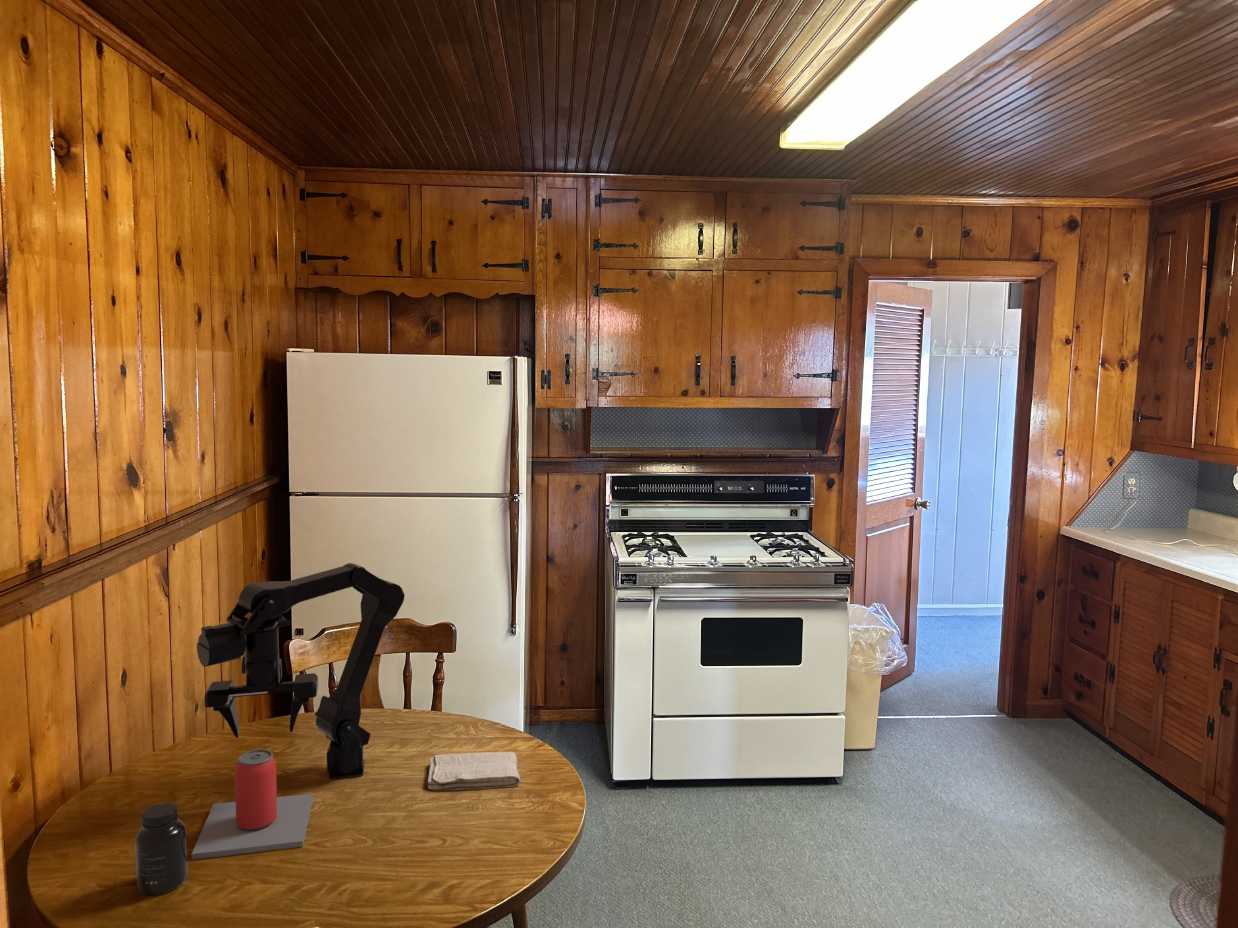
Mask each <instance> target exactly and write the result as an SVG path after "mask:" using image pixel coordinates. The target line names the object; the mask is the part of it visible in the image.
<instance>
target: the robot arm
mask: <svg viewBox="0 0 1238 928" xmlns="http://www.w3.org/2000/svg"><path fill="white" fill-rule="evenodd" d="M349 588H352V589H354V590H355V591H357V592H358V593H360V594H361V595H362V596H361V601H360V614H361V615H360V617H361V620H360V622H359V623H360V624H359V626H358V629H357V631H356V635H355V637H354V640H353V643H352V645H351V648H350V651H349V653H348V656H347V659H346V661H345V665H344V667H343V669H342V672H341V675H340V678H339V681H338V684H337V687H336V688H335V690H334V691H333V692H332V693H331V694H330V695H329V696H326V695H322V696H321V699H320V703H319V706H318V708H317V710H316V712H315V714H314V716H315V717H316V718H315V719H316V720H315V725H316V727H317V730H318V731H320V732H321V733H323V734H324V735H325V738H326V739H329V740H330V741H329V742H330V743H329V746H328V747H327V750H326V772H327V773H328V779H330V780H333V779H343V778H354V777H361V776H364V771H365V759H364V746H367V745H368V744H369V741H370V738H371V733H370V732H368V731H367V730H365V729H364V728H363V727H362V726H360V722H361V717H362V705H361V695H362V692H363V690H364V686H365V684H366V682H367V678H368V676H369V673H370V670H371V667H372V664H373V662H374V658H375V656H376V653H377V651H378V648H379V645H380V642H381V639H382V636H383V634H384V630H385V629H386V627H387V626H388V625H389V624H390V623H391V621H393V620H394V619H395V618H396V617H397V615H398V613H399V611H400V609H401V607H402V606H403V603H404V601H405V592H404V590H403V588H402V587H401V586H400V585H398V584H396V583H394V582H391V581H388V580H385V579H383V578H379V577H378V576H377V575H375V574H373V573H371V572H370V571H368V570H367V569H366V568H365V567H364V566H361V565H358V564H356V563H353V562H350V563H346V564H344V565H342V566H338V567H335V568H331V569H328V570H324V571H321V572H316V573H313V574H309V575H307V576H302V577H298V578H295V579H291V580H284V581H283V580H282V581H279V580H278V581H273V580H272V581H262V582H261V581H260V582H253V583H250V584H248V585H245V586H244V587H243V590H241V592H240V594H239V596H238V601H237V603H236V604H235V606H234V608H233V609H232V610H231V612H230V613H229V615H228V616H227V618H226V623H221V624H218V625H207V626H202V627H201V628H200V631H201V633H200V635H199V636H198V640H197V643H196V652H197V656H198V657H197V658H198V660H199V663H200V664H201V666H202V667H203V668H207V667H211V666H216V665H219V664H223V663H228V662H232V661H236V660H239V659H241V657H242V659H241V674H242V675H243V674H245V685H235V684H234V680H233V679H232V680H230V679H229V680H219V681H212V682H211V683H210V684H209V685H208V686H207V689H206V691H205V693H204V708H205V707H206V708H207V709H208V708H212V710H213V712H219V714H221V716H222V718H224V720H225V722H227V723H226V724H228V726H229V728H230V729H231V731H232V734H233V736H234V737H235V738H236V739H237V738H239V737H240V725H239V716H238V711H237V698H241V697H250V696H251V697H252V696H263V695H272V694H273V695H275V694H285V693H293V696H292V700H291V708H290V718H289V733H292V732H294V727H295V725H296V721H297V718H298V715H299V712H300V711H301V709H302V706H303V704H305V703H306V704H307V703H309V702H310V699H313V698H316V697H317V695H318V689H319V675H317V673H316V672H315V673H314V672H313V673H302V674H295V678H294V680H293V681H292V680H291V681H281V680H282V678H283V669H282V668H283V665H282V661H283V660H282V658H280V648H279V647H280V646H279V643H280V642H279V637H280V635H279V628H282V627H286V626H290V625H291V622H290V620H288V619H286V618H285V617H284V616H283V615H282V614H285V613H286V612H288V611H289V610H290V609H292V608H293V607H294V606H295V605H297V604H299V603H302V602H306V601H308V600H312V599H315V598H319V597H323V596H326V595H329V594H333V593H337V592H339V591H342V590H345V589H349ZM248 614H249V618H248V617H246V616H247V615H248Z"/></svg>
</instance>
